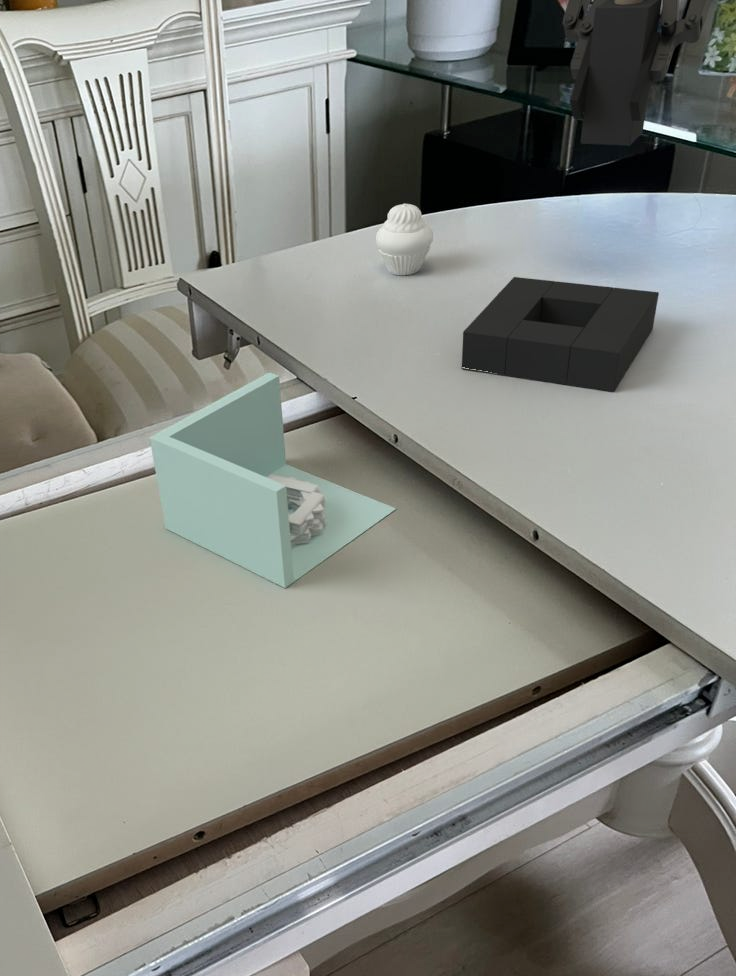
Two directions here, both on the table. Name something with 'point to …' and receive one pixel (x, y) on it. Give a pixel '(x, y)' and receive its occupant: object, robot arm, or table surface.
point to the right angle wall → (253, 488)
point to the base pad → (560, 332)
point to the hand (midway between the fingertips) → (605, 110)
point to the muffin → (404, 240)
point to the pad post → (616, 69)
